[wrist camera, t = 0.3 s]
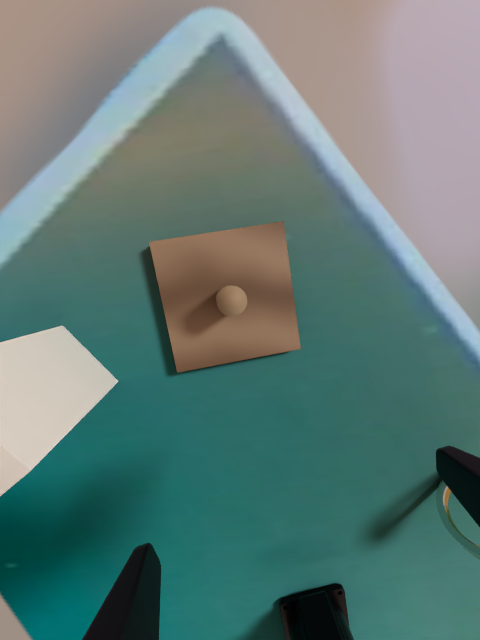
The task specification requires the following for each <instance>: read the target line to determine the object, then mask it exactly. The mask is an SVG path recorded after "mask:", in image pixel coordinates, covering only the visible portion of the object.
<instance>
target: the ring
mask: <svg viewBox="0 0 480 640" xmlns="http://www.w3.org/2000/svg"><path fill="white" fill-rule="evenodd" d="M450 493H451V490H450V489H449V488H448V487H447V485H446V484H445V483H444V482H443V480H442V481H441V483H440V484H439V486H438V489H437V493H436V504H437V509H438V513H439V515H440V518H441V520H442V522H443V524H444V526H445V527H446V529H447V530H448V531H449V533H450V534H451V535H452V536H453V537H454V538H455V539H456V540H457V542H458V543H460V544H461V545H462V546H463V547H464V548H465V549H466V550H467V551H469V552H470V553H471V554H472V555H474V556H475V557H477V558H478V559H480V547H479V546H477V545H475V544H474V543H472V542H471V541H469V540H468V539H467V538H465V537H464V536H463V535H462V534H461V533H460V531H459V530H458V529H457V527H456V526H455V524H454V523H453V521H452V519H451V516H450V514H449V510H448V498H449V495H450Z"/></svg>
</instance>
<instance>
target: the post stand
mask: <svg viewBox="0 0 480 640" xmlns="http://www.w3.org/2000/svg"><path fill="white" fill-rule="evenodd" d="M149 244H150V248H151V253H152V258H153V262H154V267H155V272H156V276H157V281H158V286H159V290H160V295H161V299H162V304H163V309H164V313H165V318H166V323H167V327H168V332H169V337H170V341H171V346H172V351H173V355H174V360H175V365H176V369H177V373H179V372H184V371H189V370H194V369H199V368H204V367H210V366H215V365H220V364H225V363H230V362H235V361H241V360H246V359H251V358H256V357H261V356H267V355H272V354H277V353H282V352H287V351H292V350H298V349H301V348H300V340H299V333H298V326H297V318H296V311H295V303H294V296H293V288H292V281H291V273H290V266H289V259H288V251H287V244H286V236H285V229H284V221H282V222H276V223H269V224H263V225H256V226H250V227H243V228H237V229H230V230H224V231H217V232H211V233H204V234H198V235H191V236H185V237H178V238H172V239H166V240H159V241H153V242H149Z"/></svg>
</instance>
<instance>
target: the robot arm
mask: <svg viewBox="0 0 480 640" xmlns="http://www.w3.org/2000/svg"><path fill="white" fill-rule="evenodd" d="M436 469H437V472H438V474H439V476H440V478H441V479H442V480H443V482H444V483H445V484H446V485H447V487H448V488H449V489H450V490H451V492H452V493H453V494H454V495H455V497H456V498H457V499H458V500H459V502H460V503H461V504H462V506H463V507H464V508H465V509H466V511H467V512H468V513H469V514H470V516H471V517H472V518H473V519H474V521H475V522H476V523H477V524H478V526H479V527H480V458H479V457H476V456H474V455H472V454H469V453H467V452H464V451H462V450H460V449H457V448H455V447H452V446H446V447H442V448H439V449H437V451H436ZM160 587H161V564H160V560H159V558H158V556H157V554H156V552H155V550H154V548H153V546H152V544H150V543H146V544H143V545H140V546H138V547H136V548H135V549H134V551H133V552H132V554H131V556H130V557H129V559H128V561H127V563H126V564H125V566H124V568H123V570H122V571H121V573H120V575H119V576H118V578H117V580H116V582H115V583H114V585H113V587H112V589H111V590H110V592H109V594H108V596H107V597H106V599H105V601H104V603H103V604H102V606H101V608H100V610H99V611H98V613H97V615H96V617H95V618H94V620H93V622H92V623H91V625H90V627H89V629H88V630H87V632H86V634H85V636H84V637H83V639H82V640H159V617H160ZM279 605H280V610H281V616H282V622H283V627H284V633H285V639H286V640H354V639H353V636H352V634H351V631H350V629H349V622H348V614H347V606H346V598H345V591H344V589H343V587H342V585H341V584H336V585H332V586H329V587H325V588H321V589H317V590H314V591H310V592H306V593H302V594H299V595H295V596H291V597H287V598H284V599H282V600H281V601H280V602H279Z"/></svg>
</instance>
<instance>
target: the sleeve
mask: <svg viewBox="0 0 480 640" xmlns="http://www.w3.org/2000/svg"><path fill="white" fill-rule="evenodd" d="M117 382H118V380H117V379H116V378H115V377H114V376H113V375H112V374H111V373H110V372H109V371H108V370H107V369H106V368H105V367H104V366H103V365H102V364H101V363H100V362H99V361H98V360H97V359H96V358H95V357H94V356H93V355H92V354H91V353H90V352H89V351H88V350H87V349H86V348H85V347H84V346H83V345H82V344H81V343H80V342H79V341H78V340H77V339H76V338H75V337H74V336H73V335H72V334H71V333H70V332H69V331H68V330H67V329H66V328H65V327H64V326H59V327H55V328H52V329H48V330H44V331H41V332H37V333H33V334H30V335H26V336H22V337H19V338H15V339H11V340H8V341H4V342H0V496H1V495H2V494H3V493H5V492H6V491H7V490H8V489H9V488H11V487H12V486H13V485H14V484H15V483H17V482H18V481H19V480H20V479H21V478H23V477H24V476H25V475H26V474H27V473H29V472H30V471H31V470H32V469H33V468H34V467H35V466H36V465H37V464H38V463H39V462H40V461H41V460H42V459H43V458H44V457H45V456H46V455H47V454H48V453H49V452H50V451H51V450H52V448H53V447H54V446H55V445H56V444H57V443H58V442H59V441H60V440H61V439H62V438H63V437H64V436H65V435H66V434H67V433H68V432H69V431H70V430H71V429H72V428H73V427H74V426H75V425H76V424H77V423H78V422H79V421H80V420H81V419H82V418H83V417H84V416H85V415H86V414H87V413H88V412H89V411H90V410H91V409H92V408H93V407H94V406H95V405H96V404H97V403H98V402H99V401H100V400H101V399H102V398H103V397H104V396H105V395H106V394H107V393H108V392H109V391H110V390H111V389H112V388H113V387H114V385H115V384H116V383H117Z"/></svg>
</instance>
